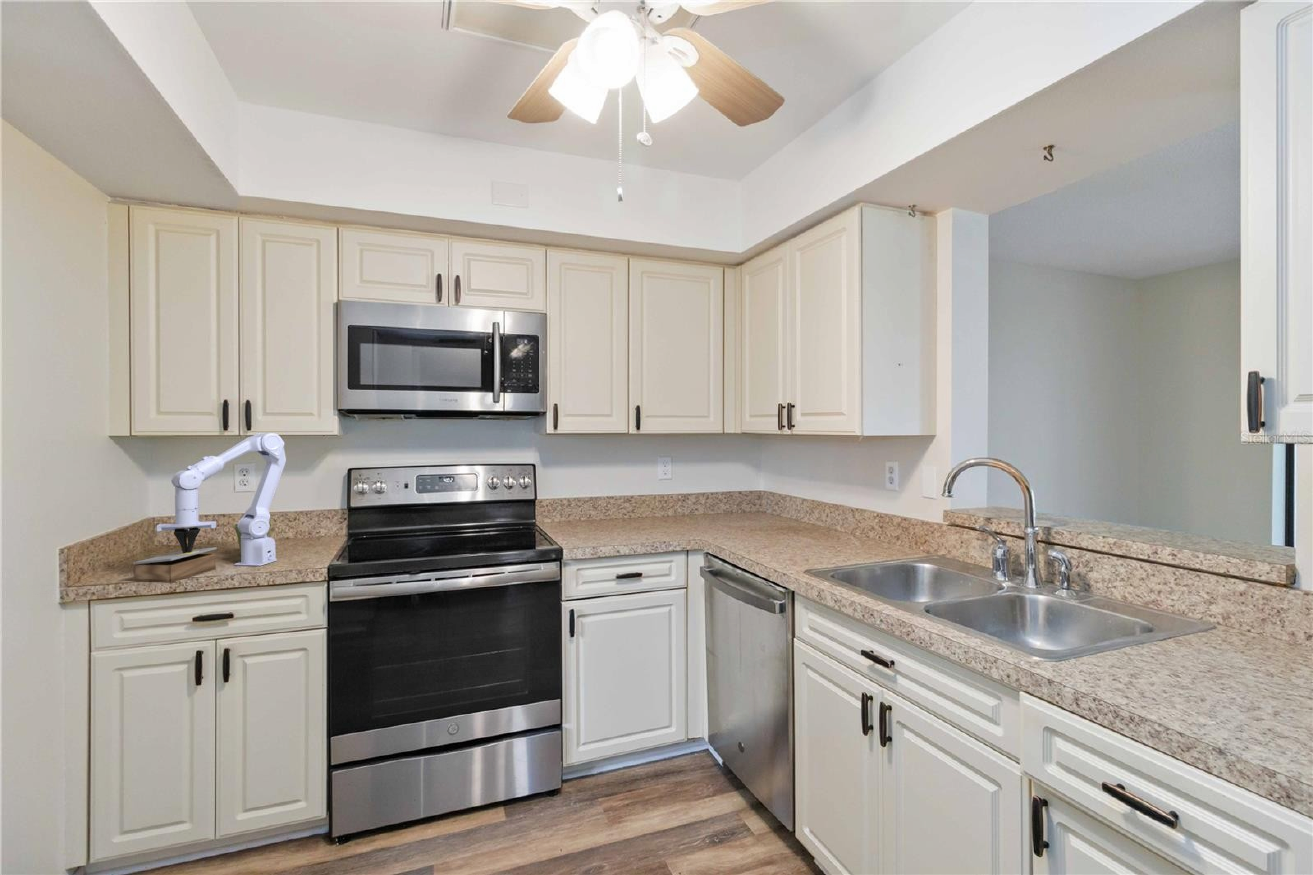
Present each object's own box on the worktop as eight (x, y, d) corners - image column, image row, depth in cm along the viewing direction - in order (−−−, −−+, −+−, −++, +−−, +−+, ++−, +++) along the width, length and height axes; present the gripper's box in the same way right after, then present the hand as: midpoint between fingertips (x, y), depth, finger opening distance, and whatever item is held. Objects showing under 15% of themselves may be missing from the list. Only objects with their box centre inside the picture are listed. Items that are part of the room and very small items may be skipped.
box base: (215, 569, 193) (215, 553, 193) (171, 582, 178) (170, 565, 177) (181, 568, 195) (181, 553, 194) (134, 581, 179) (133, 564, 179)
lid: (216, 549, 193) (216, 546, 193) (171, 560, 177) (170, 558, 177) (181, 552, 195) (181, 550, 195) (133, 564, 178) (132, 562, 178)
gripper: (218, 506, 193) (218, 548, 193) (161, 508, 187) (162, 552, 187) (213, 509, 187) (213, 552, 187) (154, 511, 180) (154, 556, 181)
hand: (187, 552), depth 186 cm, fingers closed, pressing on lid
